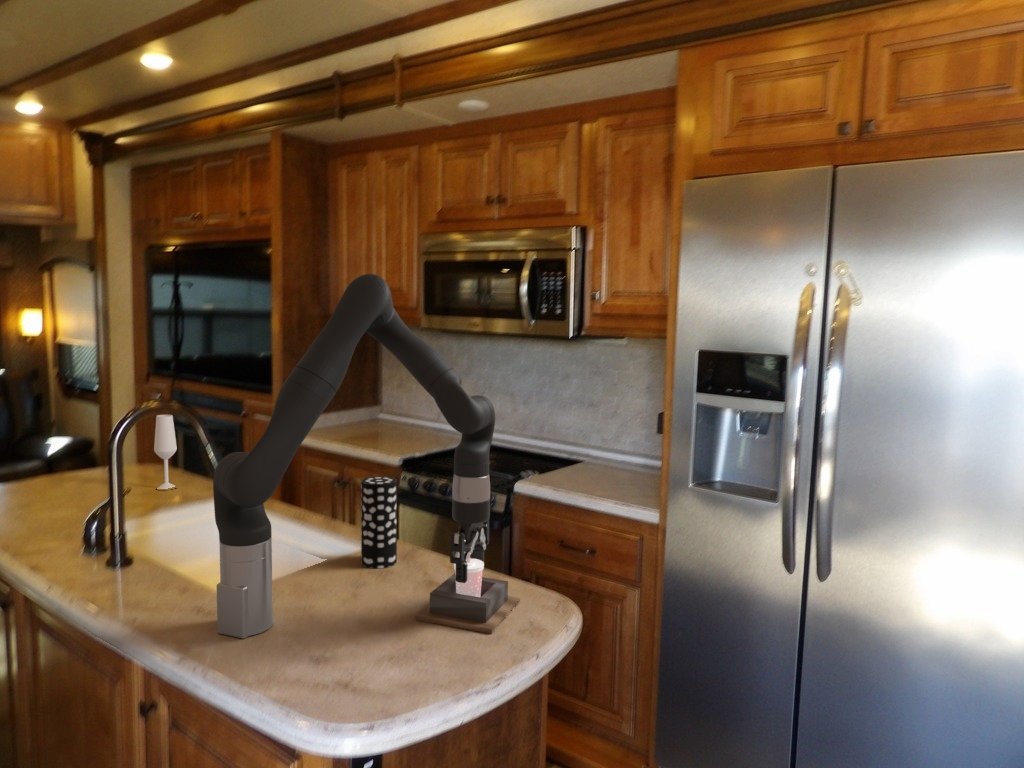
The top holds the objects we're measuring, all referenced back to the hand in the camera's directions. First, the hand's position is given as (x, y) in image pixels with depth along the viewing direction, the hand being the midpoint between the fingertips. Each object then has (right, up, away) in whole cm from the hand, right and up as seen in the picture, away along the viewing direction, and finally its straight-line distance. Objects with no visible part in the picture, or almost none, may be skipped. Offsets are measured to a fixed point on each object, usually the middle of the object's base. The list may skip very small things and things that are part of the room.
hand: (470, 574), depth 147 cm
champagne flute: (-104, +4, +91) cm, 138 cm away
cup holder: (0, -8, +1) cm, 8 cm away
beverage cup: (0, -7, +1) cm, 7 cm away
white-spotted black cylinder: (-23, -4, +27) cm, 36 cm away
